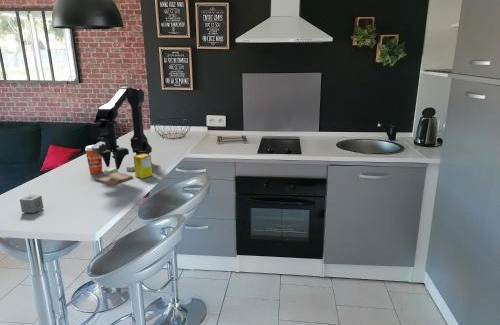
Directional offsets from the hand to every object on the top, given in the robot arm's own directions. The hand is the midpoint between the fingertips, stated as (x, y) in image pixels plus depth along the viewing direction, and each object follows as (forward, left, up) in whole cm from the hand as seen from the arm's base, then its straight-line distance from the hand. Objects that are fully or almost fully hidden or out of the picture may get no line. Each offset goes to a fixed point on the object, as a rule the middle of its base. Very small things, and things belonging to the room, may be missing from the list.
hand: (112, 167), depth 169 cm
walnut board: (0, 0, -6) cm, 6 cm away
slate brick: (-15, -5, -6) cm, 17 cm away
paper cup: (-2, -17, -6) cm, 18 cm away
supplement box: (-11, +8, -6) cm, 15 cm away
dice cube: (+40, +5, -6) cm, 40 cm away
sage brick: (-5, -9, -6) cm, 12 cm away
